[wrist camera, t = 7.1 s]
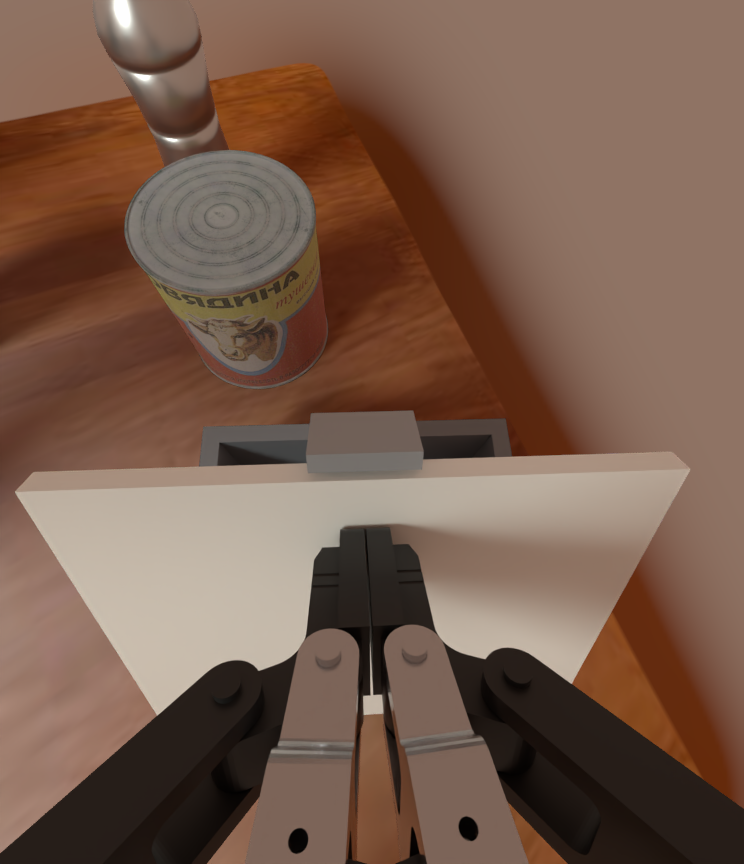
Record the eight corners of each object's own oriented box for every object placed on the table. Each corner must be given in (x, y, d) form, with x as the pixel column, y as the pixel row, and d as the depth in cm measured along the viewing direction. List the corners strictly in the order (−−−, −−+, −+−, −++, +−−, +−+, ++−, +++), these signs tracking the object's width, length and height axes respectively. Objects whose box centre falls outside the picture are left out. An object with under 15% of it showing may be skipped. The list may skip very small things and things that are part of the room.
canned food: (189, 391, 34) (108, 293, 23) (202, 279, 38) (138, 149, 27) (328, 387, 35) (315, 290, 24) (327, 277, 39) (315, 149, 28)
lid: (542, 662, 21) (558, 706, 20) (180, 683, 21) (166, 730, 19) (658, 403, 13) (705, 442, 11) (44, 420, 12) (-3, 464, 10)
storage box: (498, 659, 28) (550, 683, 21) (224, 673, 27) (174, 704, 20) (471, 457, 33) (505, 418, 26) (238, 465, 32) (203, 426, 25)
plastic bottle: (254, 189, 42) (173, -129, 24) (248, 241, 40) (153, -67, 21) (188, 188, 42) (55, -134, 23) (179, 240, 40) (21, -72, 21)
